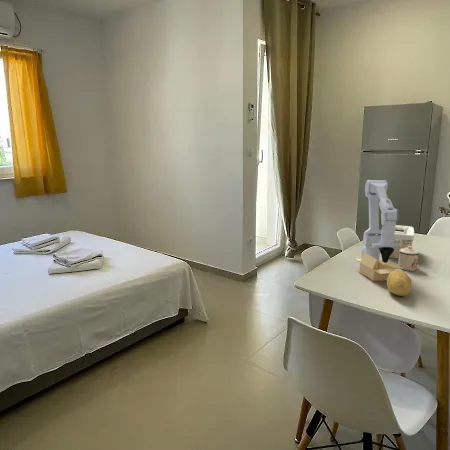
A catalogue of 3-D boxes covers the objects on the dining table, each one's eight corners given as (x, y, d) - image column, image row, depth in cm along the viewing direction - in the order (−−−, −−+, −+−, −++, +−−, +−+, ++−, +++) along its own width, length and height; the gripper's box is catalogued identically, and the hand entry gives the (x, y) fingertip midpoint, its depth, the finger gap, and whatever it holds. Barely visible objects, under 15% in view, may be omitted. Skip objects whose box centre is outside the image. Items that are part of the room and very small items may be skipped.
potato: (413, 291, 157) (415, 270, 155) (407, 302, 146) (409, 280, 144) (388, 285, 163) (390, 265, 161) (380, 296, 151) (382, 274, 149)
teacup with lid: (414, 272, 180) (417, 249, 178) (395, 268, 186) (397, 246, 184) (420, 266, 190) (423, 244, 187) (401, 262, 195) (404, 241, 193)
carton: (354, 268, 185) (355, 253, 183) (380, 267, 187) (382, 252, 186) (379, 285, 164) (380, 268, 162) (409, 283, 166) (411, 266, 164)
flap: (361, 262, 178) (359, 262, 178) (365, 253, 177) (364, 252, 177) (373, 269, 168) (371, 269, 168) (377, 259, 167) (376, 259, 167)
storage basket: (411, 261, 198) (414, 235, 195) (379, 257, 205) (382, 231, 202) (410, 250, 219) (413, 226, 216) (381, 246, 226) (384, 223, 223)
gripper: (378, 237, 167) (375, 265, 170) (407, 236, 169) (403, 263, 172) (370, 233, 174) (367, 260, 177) (397, 232, 176) (394, 259, 179)
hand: (384, 262), depth 175 cm, fingers closed
